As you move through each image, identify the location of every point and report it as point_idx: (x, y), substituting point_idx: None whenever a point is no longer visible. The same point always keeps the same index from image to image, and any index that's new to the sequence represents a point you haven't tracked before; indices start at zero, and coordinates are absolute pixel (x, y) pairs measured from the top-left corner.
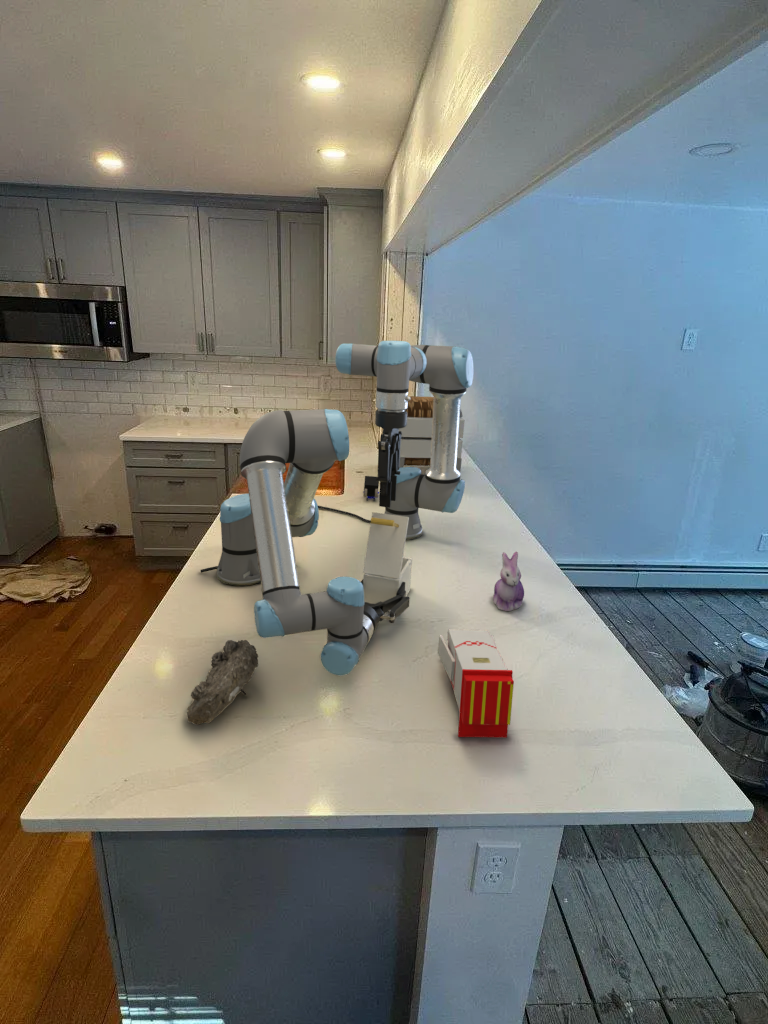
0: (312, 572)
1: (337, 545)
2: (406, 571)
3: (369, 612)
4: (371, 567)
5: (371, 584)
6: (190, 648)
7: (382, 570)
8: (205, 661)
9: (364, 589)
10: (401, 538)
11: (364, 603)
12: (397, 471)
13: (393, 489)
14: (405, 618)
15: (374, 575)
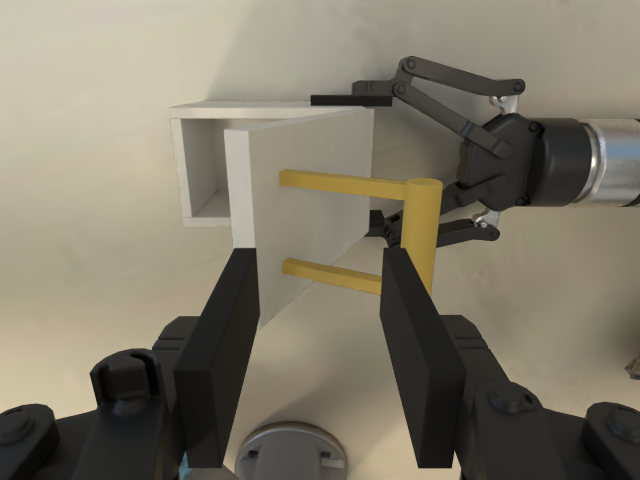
0: None
1: (48, 353)
2: (258, 106)
3: (581, 144)
4: (362, 212)
5: None
6: None
7: (365, 173)
8: (611, 392)
9: None
10: (310, 137)
11: (495, 177)
12: (129, 404)
13: (243, 304)
14: (366, 74)
15: None
